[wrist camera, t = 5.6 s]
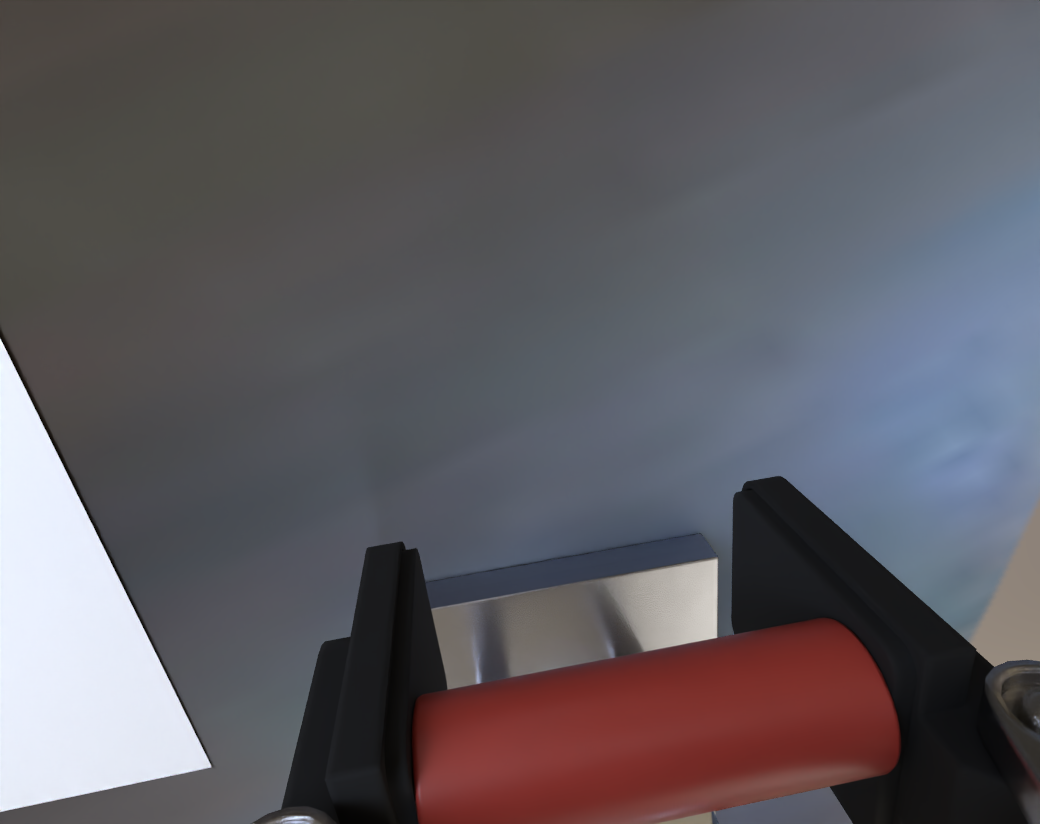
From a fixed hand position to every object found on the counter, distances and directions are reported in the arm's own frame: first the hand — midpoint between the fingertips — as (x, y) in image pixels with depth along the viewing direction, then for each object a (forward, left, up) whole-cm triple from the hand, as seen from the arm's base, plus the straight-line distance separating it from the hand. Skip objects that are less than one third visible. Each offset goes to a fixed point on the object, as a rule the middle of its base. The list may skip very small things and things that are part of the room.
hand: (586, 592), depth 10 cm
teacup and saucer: (-1, -21, -6) cm, 22 cm away
